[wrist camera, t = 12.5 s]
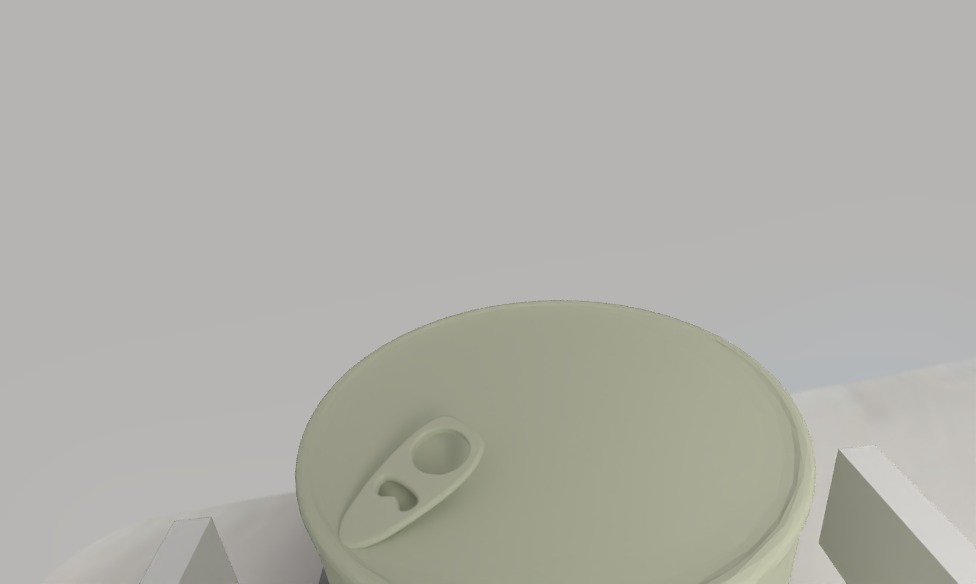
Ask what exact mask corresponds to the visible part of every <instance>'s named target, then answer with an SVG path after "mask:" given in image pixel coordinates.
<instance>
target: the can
mask: <svg viewBox="0 0 976 584" xmlns="http://www.w3.org/2000/svg"><path fill="white" fill-rule="evenodd" d="M295 472H296V473H295V474H296V475H295V480H296V494H297V500H298V504H299V509H300V514H301V516H302V519H303V522H304V524H305V527H306V529H307V531H308V533H309V535H310V537H311V539H312V541H313V543H314V545H315V547H316V549H317V550H318V552H319V555H320V558H321V561H322V564H323V567H324V569H325V572H326V575H327V578H328V581H329V584H789V582H790V577H791V572H792V567H793V562H794V558H795V554H796V549H797V545H798V541H799V537H800V533H801V531H802V529H803V526H804V524H805V522H806V520H807V518H808V515H809V511H810V507H811V503H812V500H813V496H814V492H815V480H816V466H815V458H814V451H813V445H812V440H811V437H810V434H809V431H808V428H807V426H806V423H805V421H804V419H803V417H802V415H801V413H800V411H799V409H798V408H797V406H796V404H795V403H794V401H793V400H792V398H791V396H790V395H789V394H788V392H787V391H786V390H785V389H784V388H783V386H782V385H781V384H780V383H779V382H778V381H777V379H776V378H775V377H774V376H773V375H772V374H770V373H769V372H768V371H767V370H766V369H765V368H764V367H763V366H762V365H761V364H760V363H759V362H757V361H756V360H755V359H753V358H752V357H750V356H749V355H748V354H746V353H745V352H744V351H742V350H741V349H739V348H738V347H736V346H734V345H733V344H731V343H729V342H727V341H726V340H724V339H722V338H721V337H719V336H717V335H715V334H713V333H710V332H708V331H706V330H704V329H702V328H700V327H697V326H695V325H692V324H689V323H687V322H684V321H681V320H679V319H676V318H673V317H670V316H667V315H663V314H659V313H655V312H652V311H647V310H643V309H638V308H633V307H628V306H623V305H616V304H607V303H600V302H589V301H561V300H560V301H559V300H558V301H557V300H553V301H552V300H551V301H532V302H521V303H511V304H504V305H497V306H491V307H486V308H481V309H476V310H472V311H468V312H464V313H461V314H457V315H454V316H450V317H446V318H444V319H441V320H438V321H435V322H432V323H430V324H427V325H424V326H422V327H419V328H417V329H415V330H413V331H410V332H408V333H406V334H404V335H402V336H400V337H398V338H396V339H394V340H392V341H391V342H389V343H387V344H385V345H383V346H382V347H380V348H378V349H377V350H375V351H374V352H373V353H371V354H370V355H368V356H367V357H365V358H364V359H363V360H361V361H360V362H359V363H357V364H356V365H355V366H354V367H352V368H351V369H350V370H349V371H348V372H347V373H346V374H345V375H344V376H343V377H341V379H339V380H338V381H337V382H336V383H335V384H334V385H333V387H332V388H331V389H330V390H329V391H328V393H327V394H326V395H325V396H324V398H323V399H322V400H321V401H320V403H319V405H318V406H317V408H316V410H315V412H314V413H313V415H312V417H311V418H310V420H309V422H308V424H307V426H306V428H305V431H304V434H303V436H302V439H301V443H300V446H299V451H298V455H297V462H296V471H295Z"/></svg>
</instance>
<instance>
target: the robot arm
mask: <svg viewBox="0 0 976 584" xmlns="http://www.w3.org/2000/svg"><path fill="white" fill-rule="evenodd" d="M819 544H820V546H821V547H822V549H823V550H824V552H825V553H826V554H827V556H828V557H829V559H830V560H831V562H832V563H833V565H834V566H835V567H836V569H837V570H838V572H839V573H840V575H841V576H842V578H843V579H844V580H845V582H846V583H847V584H976V547H975V546H974V545H973V544H972V543H971V542H970V541H969V540H968V539H967V538H966V537H965V536H964V535H963V534H962V533H961V532H960V531H959V530H958V529H957V528H956V527H955V526H954V525H953V524H952V523H951V522H950V521H949V520H948V519H947V518H946V517H945V516H944V515H943V514H942V512H941V511H940V510H939V509H938V508H937V507H936V506H935V505H934V504H933V503H932V502H931V501H930V500H929V499H928V498H927V497H926V496H925V495H924V494H923V493H922V492H921V491H920V490H919V489H918V488H917V487H916V486H915V485H914V484H913V483H912V482H911V481H910V480H909V479H908V478H907V477H906V476H905V475H904V474H903V473H902V472H901V471H900V470H899V469H898V468H897V467H896V466H895V465H894V464H893V463H892V462H891V461H890V460H889V459H888V458H887V457H886V456H885V455H884V454H883V453H882V452H881V451H880V449H879V448H878V447H877V446H876V445H869V446H860V447H851V448H842V449H838V454H837V458H836V463H835V468H834V473H833V477H832V482H831V487H830V492H829V496H828V501H827V506H826V511H825V515H824V520H823V525H822V530H821V535H820V539H819ZM139 584H239V583H238V581H237V578H236V576H235V573H234V571H233V569H232V566H231V564H230V561H229V559H228V556H227V554H226V552H225V549H224V547H223V544H222V542H221V539H220V537H219V534H218V532H217V530H216V527H215V525H214V522H213V520H212V517H207V518H197V519H188V520H179V521H174V523H173V525H172V526H171V528H170V530H169V532H168V534H167V535H166V537H165V539H164V541H163V542H162V544H161V546H160V548H159V549H158V551H157V553H156V555H155V557H154V558H153V560H152V562H151V564H150V565H149V567H148V569H147V571H146V573H145V574H144V576H143V578H142V580H141V581H140V583H139Z"/></svg>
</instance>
